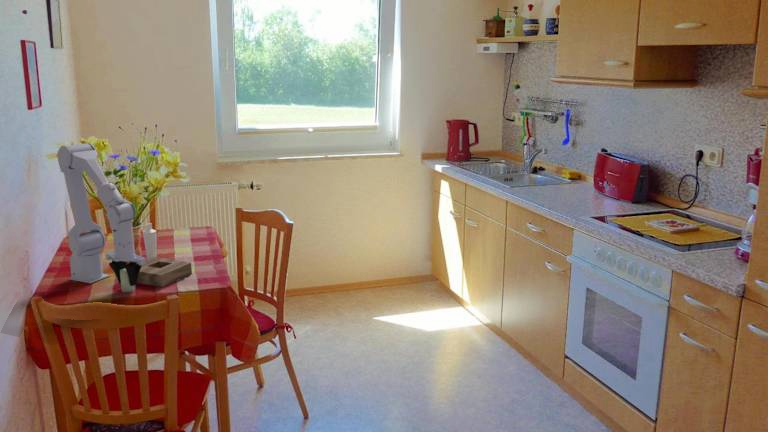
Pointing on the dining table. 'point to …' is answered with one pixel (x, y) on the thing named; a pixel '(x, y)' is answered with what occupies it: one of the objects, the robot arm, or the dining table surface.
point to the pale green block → (125, 281)
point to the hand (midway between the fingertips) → (128, 283)
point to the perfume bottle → (150, 241)
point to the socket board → (163, 271)
